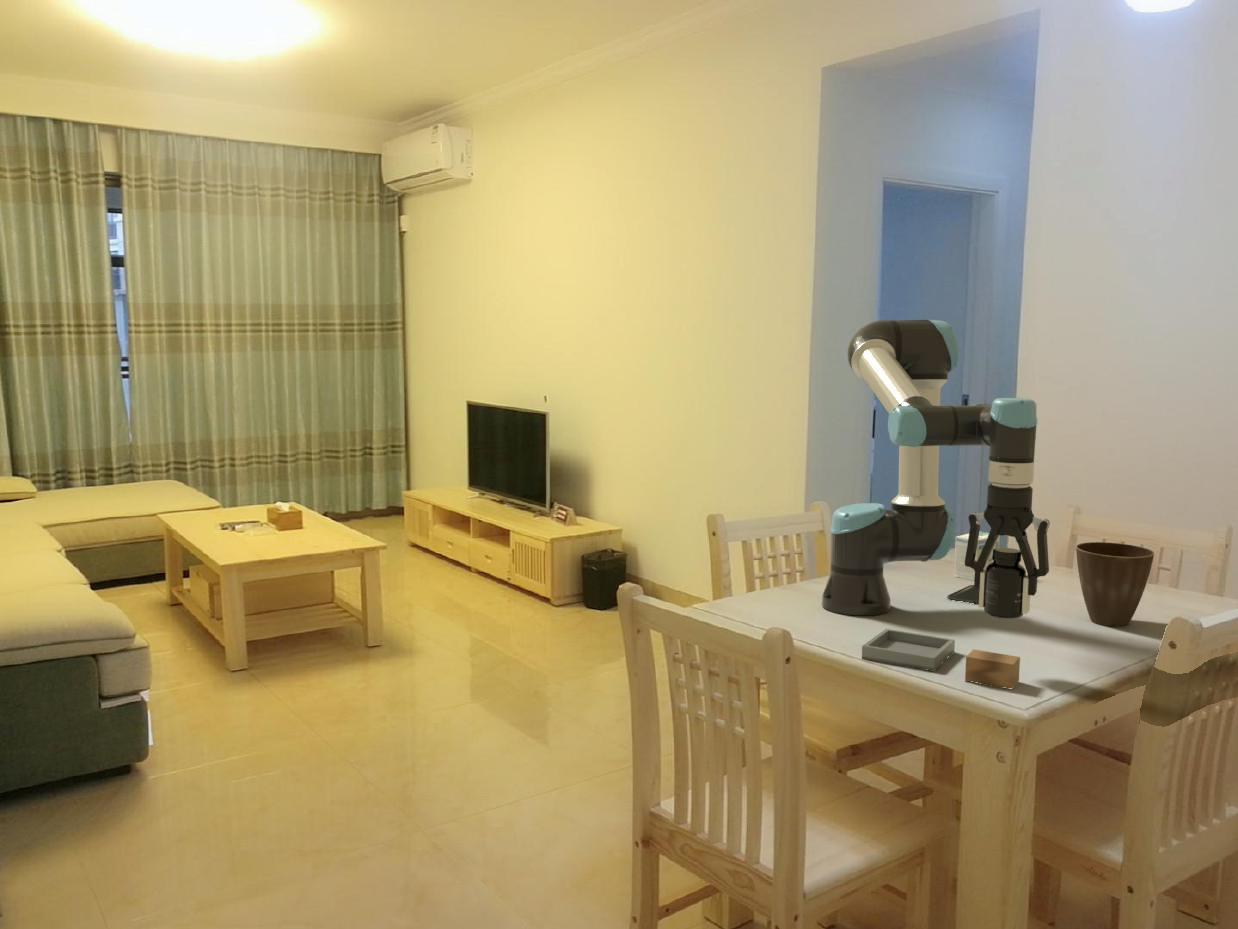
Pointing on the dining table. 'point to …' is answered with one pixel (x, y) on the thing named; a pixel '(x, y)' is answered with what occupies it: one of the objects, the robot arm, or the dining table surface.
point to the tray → (908, 649)
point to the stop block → (992, 668)
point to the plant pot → (1112, 580)
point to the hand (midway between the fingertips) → (1003, 608)
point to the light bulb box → (960, 555)
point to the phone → (966, 595)
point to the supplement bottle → (1004, 584)
